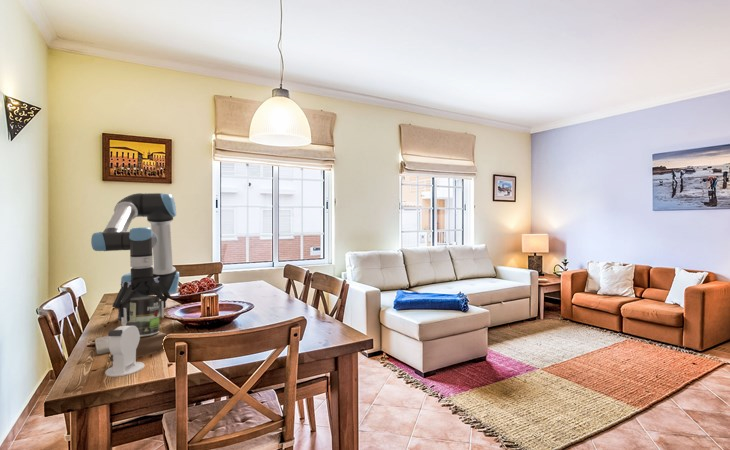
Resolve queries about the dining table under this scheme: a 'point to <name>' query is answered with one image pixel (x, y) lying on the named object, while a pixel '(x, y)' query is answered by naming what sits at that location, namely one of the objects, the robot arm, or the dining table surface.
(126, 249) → the robot arm
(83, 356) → the dining table surface
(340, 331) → the dining table surface
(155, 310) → the coffee can
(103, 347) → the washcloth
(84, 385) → the dining table surface
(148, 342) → the walnut box
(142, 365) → the white small appliance
